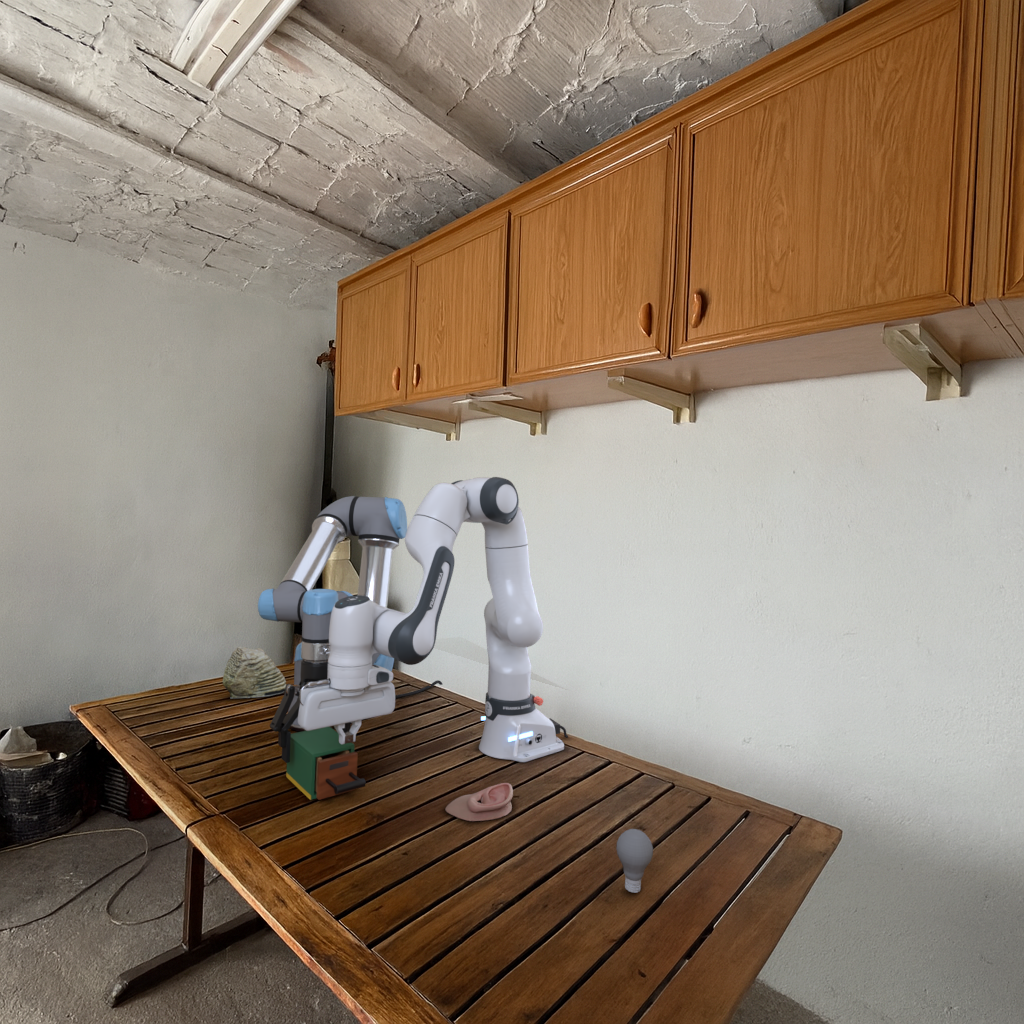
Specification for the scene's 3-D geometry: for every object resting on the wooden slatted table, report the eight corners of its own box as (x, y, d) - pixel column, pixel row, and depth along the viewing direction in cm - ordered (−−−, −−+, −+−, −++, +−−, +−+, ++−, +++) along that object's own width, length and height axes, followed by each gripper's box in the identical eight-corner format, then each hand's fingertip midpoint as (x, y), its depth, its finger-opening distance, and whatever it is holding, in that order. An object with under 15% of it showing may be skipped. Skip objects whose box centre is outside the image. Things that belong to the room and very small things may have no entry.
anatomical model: (441, 797, 127) (457, 773, 138) (440, 817, 127) (456, 791, 138) (505, 806, 124) (517, 781, 136) (504, 826, 124) (516, 800, 136)
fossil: (218, 695, 195) (220, 647, 195) (278, 685, 208) (279, 640, 207) (228, 703, 189) (230, 653, 188) (289, 692, 201) (290, 645, 201)
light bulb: (610, 879, 108) (613, 822, 108) (644, 879, 109) (647, 822, 109) (619, 902, 102) (622, 840, 102) (655, 901, 103) (658, 840, 103)
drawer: (369, 800, 131) (371, 763, 131) (331, 812, 126) (332, 773, 126) (331, 769, 145) (332, 735, 145) (295, 778, 140) (296, 743, 140)
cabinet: (353, 788, 138) (354, 744, 138) (310, 800, 132) (312, 754, 132) (326, 766, 149) (328, 725, 148) (286, 776, 142) (287, 734, 142)
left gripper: (269, 670, 131) (265, 772, 131) (376, 655, 147) (372, 747, 147) (256, 662, 137) (252, 760, 137) (361, 649, 153) (357, 737, 153)
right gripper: (306, 687, 121) (304, 759, 121) (400, 672, 134) (397, 736, 135) (294, 679, 126) (291, 748, 126) (385, 665, 139) (383, 727, 139)
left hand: (314, 753), depth 142 cm, fingers open, 12 cm apart
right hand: (347, 742), depth 131 cm, fingers closed
